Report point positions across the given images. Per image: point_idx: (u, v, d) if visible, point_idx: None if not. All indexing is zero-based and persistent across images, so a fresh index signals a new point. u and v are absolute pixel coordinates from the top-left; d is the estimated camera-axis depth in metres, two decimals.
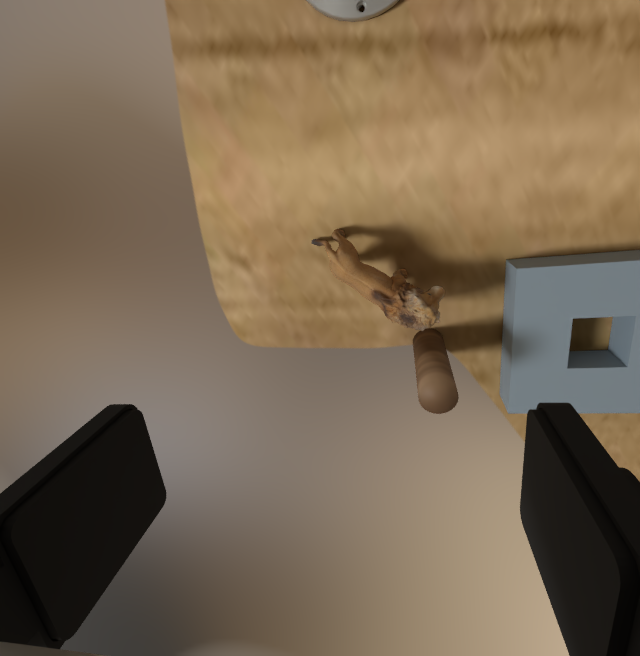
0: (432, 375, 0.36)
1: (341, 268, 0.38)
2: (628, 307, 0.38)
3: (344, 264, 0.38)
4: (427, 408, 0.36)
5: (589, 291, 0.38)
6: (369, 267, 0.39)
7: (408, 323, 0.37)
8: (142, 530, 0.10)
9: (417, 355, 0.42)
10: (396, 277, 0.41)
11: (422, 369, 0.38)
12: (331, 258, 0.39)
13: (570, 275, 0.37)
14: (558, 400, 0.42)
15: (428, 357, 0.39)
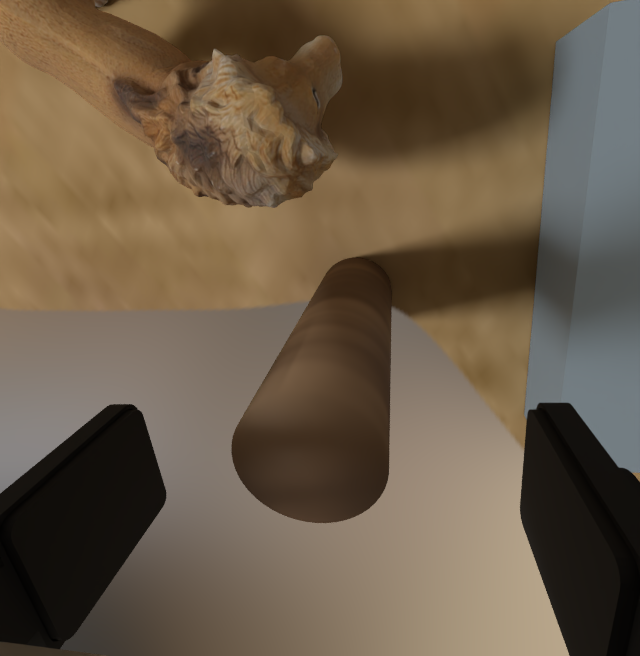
0: (292, 371, 0.09)
1: None
2: None
3: None
4: (273, 502, 0.09)
5: None
6: None
7: (208, 171, 0.10)
8: (142, 530, 0.10)
9: None
10: None
11: (282, 351, 0.11)
12: None
13: None
14: None
15: (316, 313, 0.12)
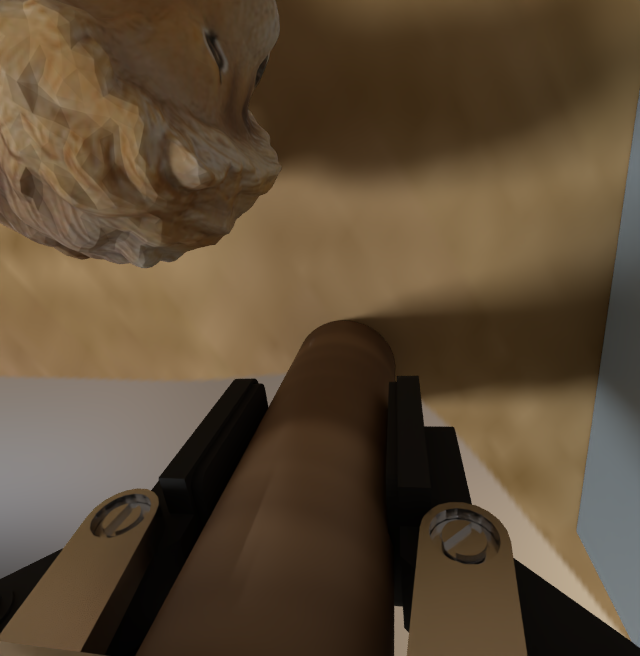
0: None
1: None
2: None
3: None
4: None
5: None
6: None
7: None
8: None
9: (254, 434, 0.09)
10: None
11: (182, 574, 0.06)
12: None
13: None
14: None
15: (263, 466, 0.07)
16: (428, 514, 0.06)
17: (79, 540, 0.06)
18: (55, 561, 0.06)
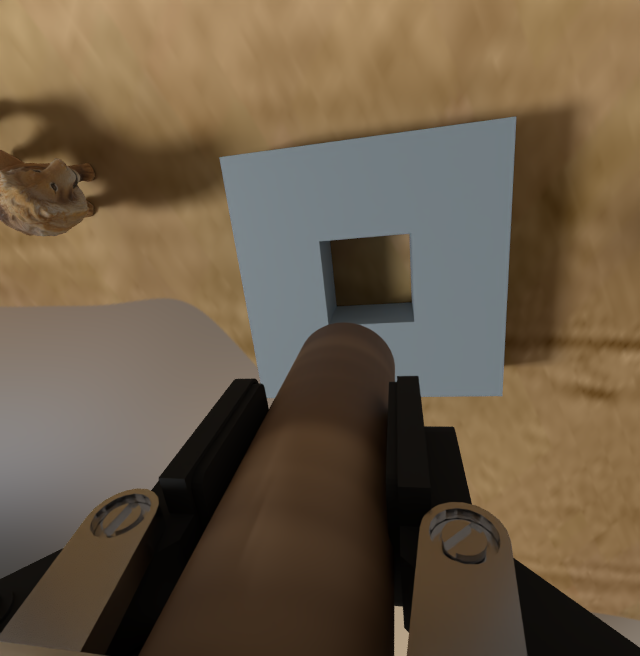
0: None
1: None
2: (396, 219, 0.23)
3: None
4: None
5: (333, 193, 0.23)
6: None
7: (6, 221, 0.22)
8: None
9: None
10: None
11: (183, 577, 0.06)
12: None
13: (299, 165, 0.23)
14: None
15: (264, 469, 0.07)
16: (428, 514, 0.06)
17: (79, 540, 0.06)
18: (55, 561, 0.06)
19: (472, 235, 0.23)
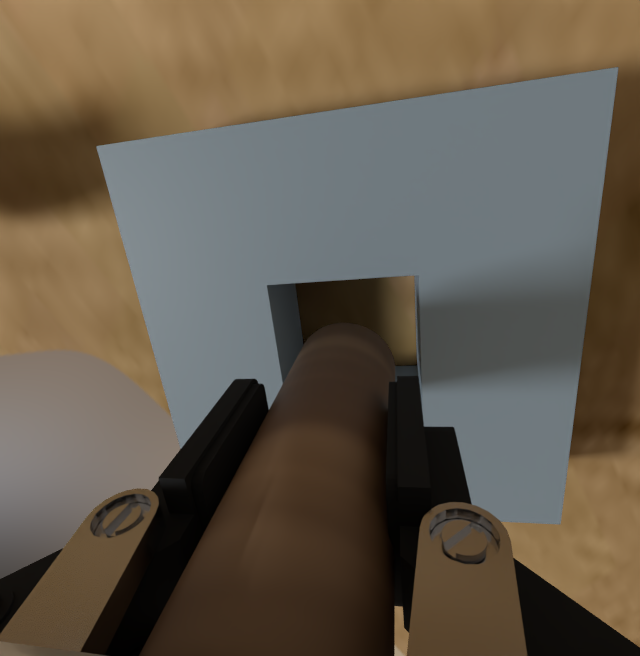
0: None
1: None
2: (394, 251, 0.13)
3: None
4: None
5: (286, 206, 0.14)
6: None
7: None
8: None
9: (254, 437, 0.09)
10: None
11: (183, 578, 0.06)
12: None
13: (228, 159, 0.13)
14: None
15: (264, 469, 0.07)
16: (428, 514, 0.06)
17: (79, 540, 0.06)
18: (55, 561, 0.06)
19: (524, 280, 0.13)
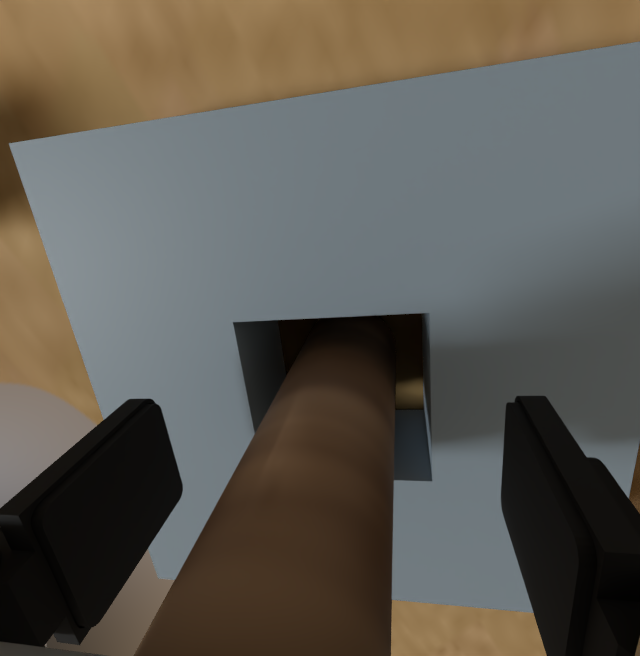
0: (214, 591, 0.05)
1: None
2: (396, 282, 0.10)
3: None
4: None
5: (255, 223, 0.10)
6: None
7: None
8: (161, 522, 0.10)
9: None
10: None
11: (222, 498, 0.07)
12: None
13: (178, 161, 0.10)
14: None
15: (285, 420, 0.08)
16: None
17: None
18: None
19: (571, 321, 0.10)
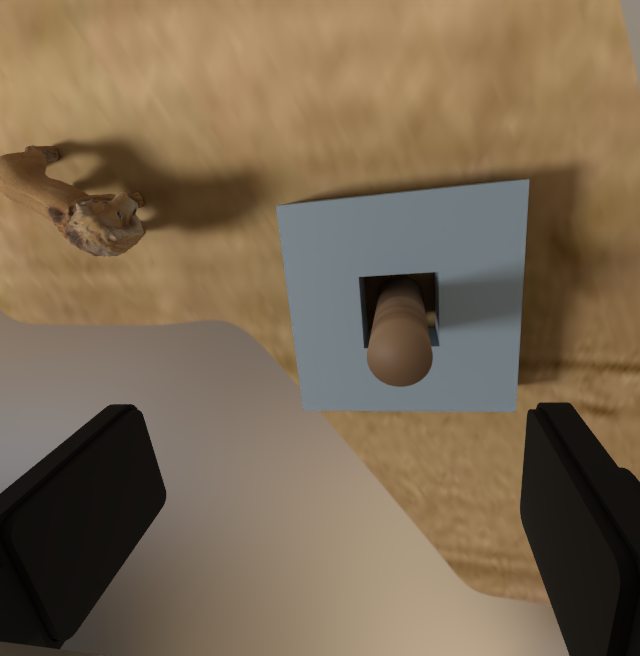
0: (391, 321, 0.22)
1: None
2: (426, 259, 0.27)
3: (1, 174, 0.28)
4: (382, 377, 0.22)
5: (372, 237, 0.27)
6: (50, 180, 0.29)
7: (79, 245, 0.27)
8: (142, 530, 0.10)
9: (378, 306, 0.27)
10: None
11: (378, 318, 0.24)
12: None
13: (344, 214, 0.27)
14: (361, 393, 0.31)
15: (391, 302, 0.25)
16: None
17: None
18: None
19: (491, 274, 0.26)
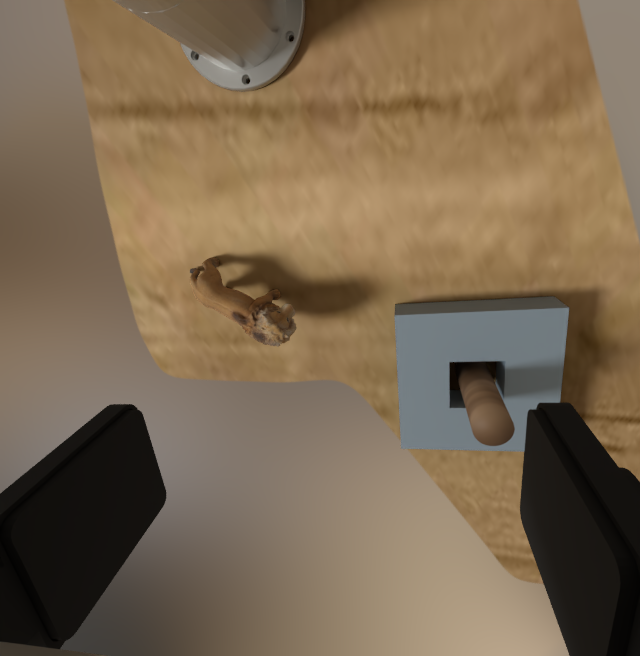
0: (487, 405, 0.35)
1: (200, 294, 0.41)
2: (497, 353, 0.40)
3: (202, 290, 0.41)
4: (481, 440, 0.35)
5: (461, 337, 0.40)
6: (230, 291, 0.42)
7: (261, 340, 0.40)
8: (142, 530, 0.10)
9: (464, 383, 0.41)
10: (260, 298, 0.44)
11: (473, 399, 0.37)
12: (191, 285, 0.42)
13: (442, 322, 0.40)
14: (445, 437, 0.45)
15: (477, 385, 0.38)
16: None
17: None
18: None
19: (541, 364, 0.40)
